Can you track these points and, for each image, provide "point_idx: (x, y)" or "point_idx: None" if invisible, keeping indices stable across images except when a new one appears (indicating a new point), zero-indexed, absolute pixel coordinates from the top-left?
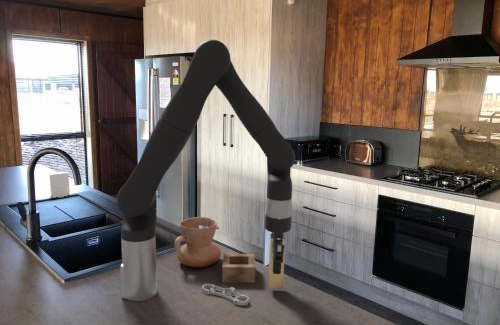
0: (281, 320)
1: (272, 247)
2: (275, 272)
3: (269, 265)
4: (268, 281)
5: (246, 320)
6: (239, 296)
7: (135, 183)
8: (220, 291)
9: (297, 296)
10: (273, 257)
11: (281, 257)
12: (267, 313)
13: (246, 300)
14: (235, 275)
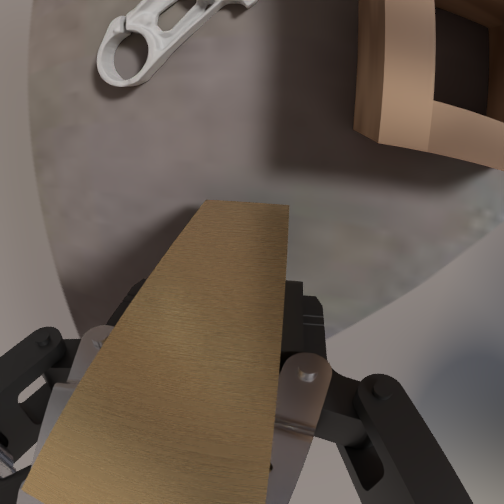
0: (43, 218)
1: (43, 436)
2: (140, 286)
3: (203, 269)
4: (264, 207)
5: (28, 97)
6: (144, 37)
7: None
8: None
9: None
10: (75, 356)
11: (24, 401)
12: (67, 172)
13: (103, 77)
14: (367, 7)
